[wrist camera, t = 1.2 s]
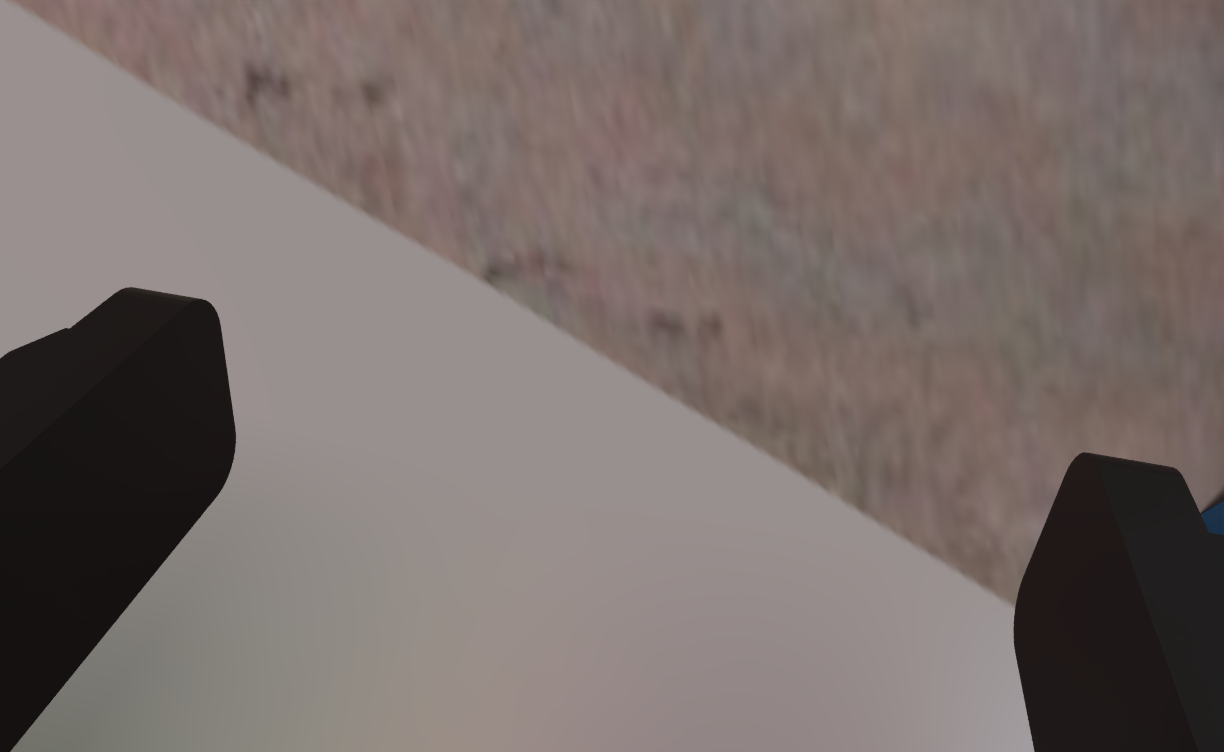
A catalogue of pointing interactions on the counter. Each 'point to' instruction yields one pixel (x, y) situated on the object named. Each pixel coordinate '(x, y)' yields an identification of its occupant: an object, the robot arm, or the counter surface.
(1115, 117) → the counter surface
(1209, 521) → the perfume bottle
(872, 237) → the counter surface
